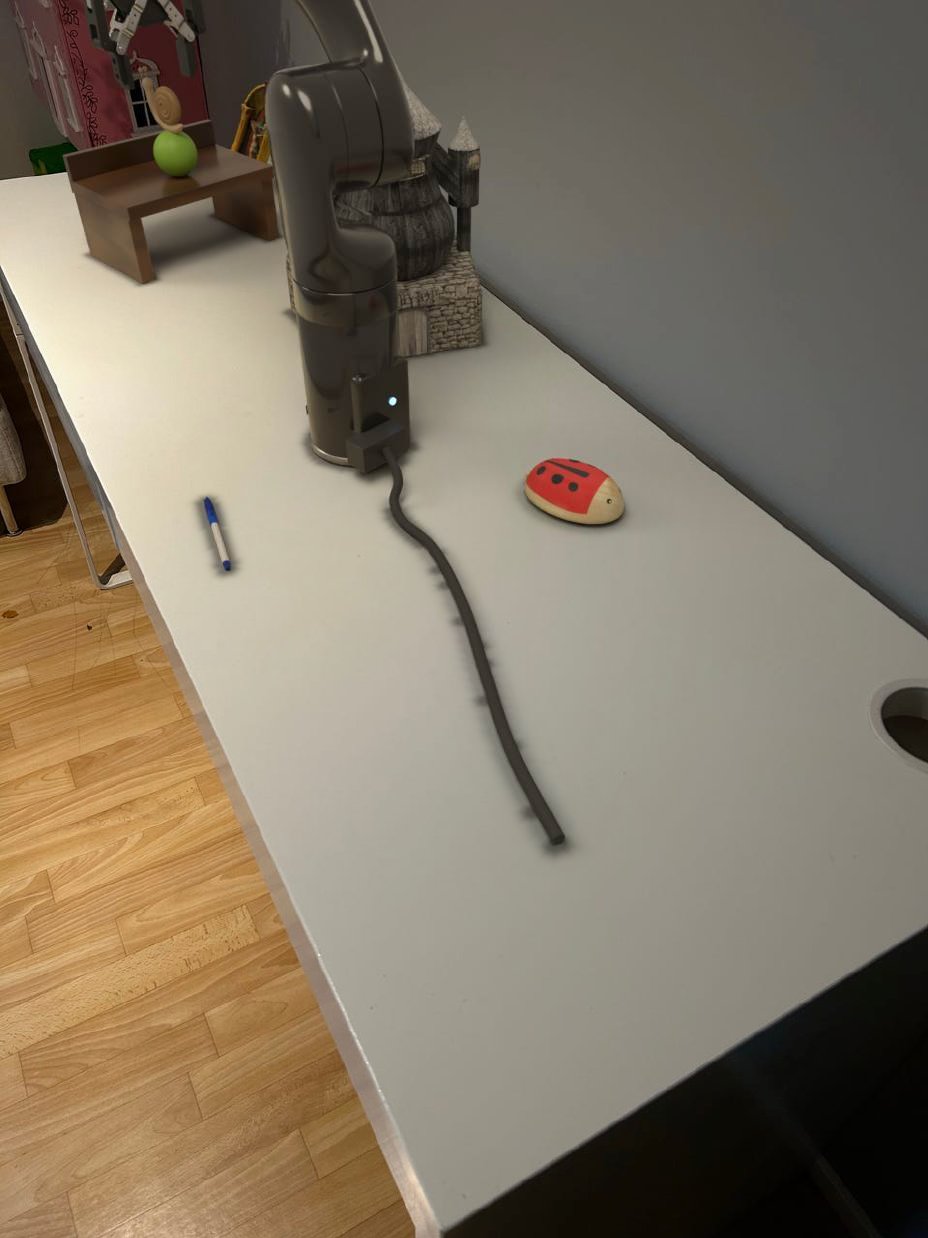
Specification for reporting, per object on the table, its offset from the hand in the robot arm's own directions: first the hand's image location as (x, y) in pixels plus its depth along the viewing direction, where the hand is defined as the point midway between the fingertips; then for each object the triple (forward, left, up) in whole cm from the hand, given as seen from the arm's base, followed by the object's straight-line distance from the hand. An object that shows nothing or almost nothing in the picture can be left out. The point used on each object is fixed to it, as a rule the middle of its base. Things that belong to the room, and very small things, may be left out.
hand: (159, 81), depth 115 cm
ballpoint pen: (-55, +35, -21) cm, 69 cm away
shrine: (+13, -20, -21) cm, 31 cm away
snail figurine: (0, 0, -11) cm, 11 cm away
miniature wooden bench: (+1, 0, -20) cm, 20 cm away
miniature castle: (-37, -4, -21) cm, 43 cm away
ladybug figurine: (-75, +9, -21) cm, 78 cm away
